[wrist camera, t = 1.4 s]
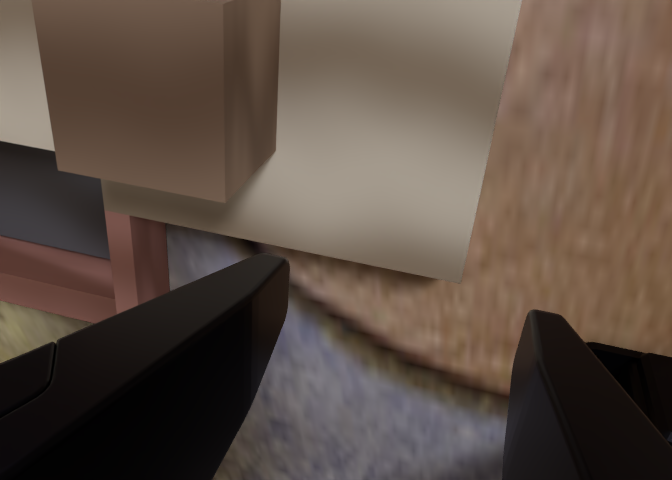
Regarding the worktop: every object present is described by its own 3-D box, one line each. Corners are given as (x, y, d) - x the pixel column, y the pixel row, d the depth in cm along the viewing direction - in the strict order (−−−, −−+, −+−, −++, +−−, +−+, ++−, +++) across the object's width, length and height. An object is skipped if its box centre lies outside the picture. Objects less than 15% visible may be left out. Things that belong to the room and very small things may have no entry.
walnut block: (275, 150, 20) (225, 203, 16) (133, 125, 21) (58, 170, 17) (281, -17, 17) (223, 4, 14) (119, -38, 18) (27, -22, 15)
